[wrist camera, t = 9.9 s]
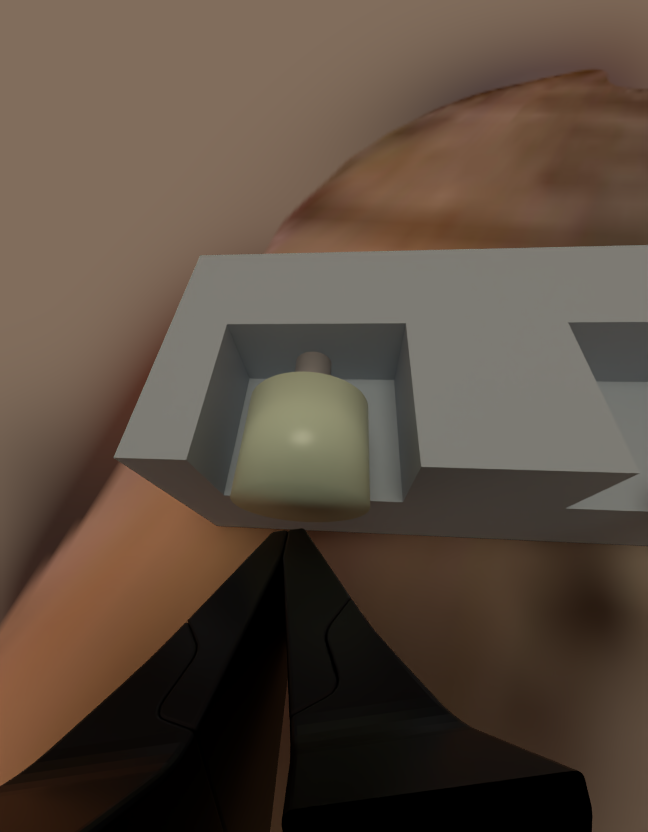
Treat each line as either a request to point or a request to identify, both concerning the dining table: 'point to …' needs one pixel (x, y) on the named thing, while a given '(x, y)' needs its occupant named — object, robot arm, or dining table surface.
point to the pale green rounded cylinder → (305, 447)
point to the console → (423, 386)
